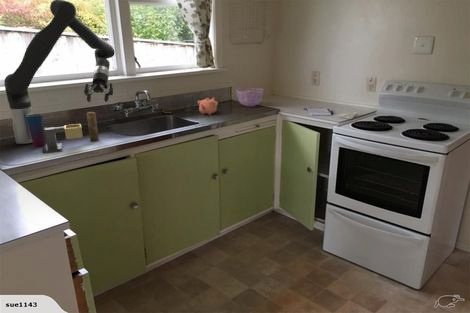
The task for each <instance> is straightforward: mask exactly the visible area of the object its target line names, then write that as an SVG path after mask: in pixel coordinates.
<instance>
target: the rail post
mask: <svg viewBox="0 0 470 313" xmlns="http://www.w3.org/2000/svg"><path fill="white" fill-rule="evenodd" d="M96 116H97V115H96V112H94V111H89V112H88V111H87V113H86V119H87V125H88V126H87V127H88V134H89V140H90V142H97V141H100V140H99V139H100V137H99V132H98V124H97V123H98V122H97V117H96Z"/></svg>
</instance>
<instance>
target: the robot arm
mask: <svg viewBox="0 0 470 313" xmlns="http://www.w3.org/2000/svg"><path fill="white" fill-rule="evenodd" d="M49 6H50V7H49V8H50V12H51V14H52V15H53V17H52V19H51V21H50V22H49V23H48V24H47V25H46V26H44V27H43V28H42V29H40V30H39V31H38V32H37V33H36V34H35V35H34V36H33V37H32V39H31V40H30V42H29V44H28V45H27V47H26V50H25V52H24V54H23V57H22V60H21V62H20V64H19V65H18V67H17V68H16V69H15V70H14V72H13V73H10V74H8V75H6V77H5V78H4V87H5V88H4V89H5V93H6V99H7V102H8V105H9V109H10V115H11V118H12V128H13V133H14V134H13V135H14V137H15V144H17V145H18V144H19V145H21V144H22V145H25V144H31V143H32V144H33V142H32V138H31V134H30V130H29V126H28V122H27V119H26V115H30V114H34V113H33V106H32V102H31V99H30V95H29V92H28V89H29V87H30V84H31V83H32V80H33V79H34V76H35V75H36V73H37V72H38V70H39V69H40V68H41V67H42V65H43V63H44V62H45V61H46V59H47V58H48V56H49V55H50V54H51V52H52V50H53V48H54V47H55V45H56V44H57V42H58V41H59V39H60V38H61V36H62V35H63V33H64V32H65V30H66V29H67V28H68V27H69V29H71V31H73V32H74V33H75V34H76V35H78V36H79V37H80V38H81V39H82V41H83V42H84V43H86V45H87V46H88V47H90V49H92V50H94V58H95V67H94V70H93V71H94V72H93V75H92V76H93V77H92V82H91V84H89V83H86V84H85V86H84V90H83V93H84V95H85V97H86V100H87V102H88V103H91V101H92V96H93V95H95V94H97V93H98V94H99V93H101V94H102V93H104V102H105V103H107V102H108V101H109V97H110V96H114V85H113V84H112V83H109V84H108V82H109V76H110V72H109V71H110V61H109V60H108V59H110V58H113V57H114V56H115V54H116V53H115V50H114V47H113V46H112V45H111V44H110V43H109V42H107V41H105V40H104V39H102V38H100V37H99V36H98V35H97V34H96V33H95V32H94V31H93V29H91V28H90V27H89V26H88V25H86V24H84V22H82V21H81V20H80V19H79V18H78V17H77V16H76V15H77V8H76V5H75V4H73V3H72V2H70V1H69V0H68V1H67V0H52V2H50V5H49ZM107 89H108V90H109V91H107Z"/></svg>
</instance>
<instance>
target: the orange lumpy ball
mask: <svg viewBox="0 0 470 313" xmlns="http://www.w3.org/2000/svg"><path fill="white" fill-rule="evenodd" d="M197 104H198V107H199V108H198V109H199V110H198V111H199V113H200V114H201V115H206V114H207V115H208V116H212V114H215V112H216V111H217V107H218V105H219V102H218V101H216V99H215V96H214V97H212V98H211V99H210V98H209V97H206V98H205V99H202V100H198V101H197Z"/></svg>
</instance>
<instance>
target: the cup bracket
mask: <svg viewBox="0 0 470 313" xmlns="http://www.w3.org/2000/svg"><path fill="white" fill-rule="evenodd" d="M56 133H58V134H59V133H64V134H65V140H72V139H74V140H75V139H81V138H83V137H84V136H83V129H82V124H81V123H76V124H74V123H73V124H67V125H63V126H56V127H54V126H51V127H44V137H45V145H43V147H42V154H49V153H50V154H51V153H59V152H63V143H62V142H61V143H60V142H59V143H58V142H57V136H56Z"/></svg>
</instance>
